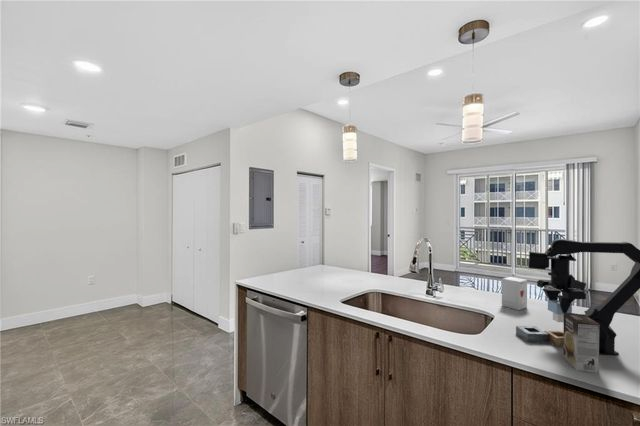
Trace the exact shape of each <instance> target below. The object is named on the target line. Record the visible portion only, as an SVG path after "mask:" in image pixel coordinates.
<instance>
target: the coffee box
mask: <svg viewBox="0 0 640 426" xmlns="http://www.w3.org/2000/svg"><path fill="white" fill-rule="evenodd" d="M563 314H564V322H563V332H564V342H563V343H564V344H563V346H564V347H562V348H563V354H562V355H563V358H564V360H566V361H567V362H568V363H569V364H570V365H571V367H573V369H575V370H576V371H581V372H590V373H596V374H598V373H599V367H600V366H599V362H600V361H599V359H600V356H599V355H600V354H599V323H597V322H595V321H594V320H592V319H591V318H589V317H587V316H586V315H585V313H584V314H583V313H581V314H579V313H574V312H572V313H563Z"/></svg>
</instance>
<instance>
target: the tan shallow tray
mask: <svg viewBox="0 0 640 426" xmlns="http://www.w3.org/2000/svg"><path fill="white" fill-rule="evenodd" d="M543 331H544V332H546V333H548V334H549V343H550V344H552V345H553V346H555V347H558V348H559V347H560V348H564V346H563V344H564V343H563V342H564V330H543Z"/></svg>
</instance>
